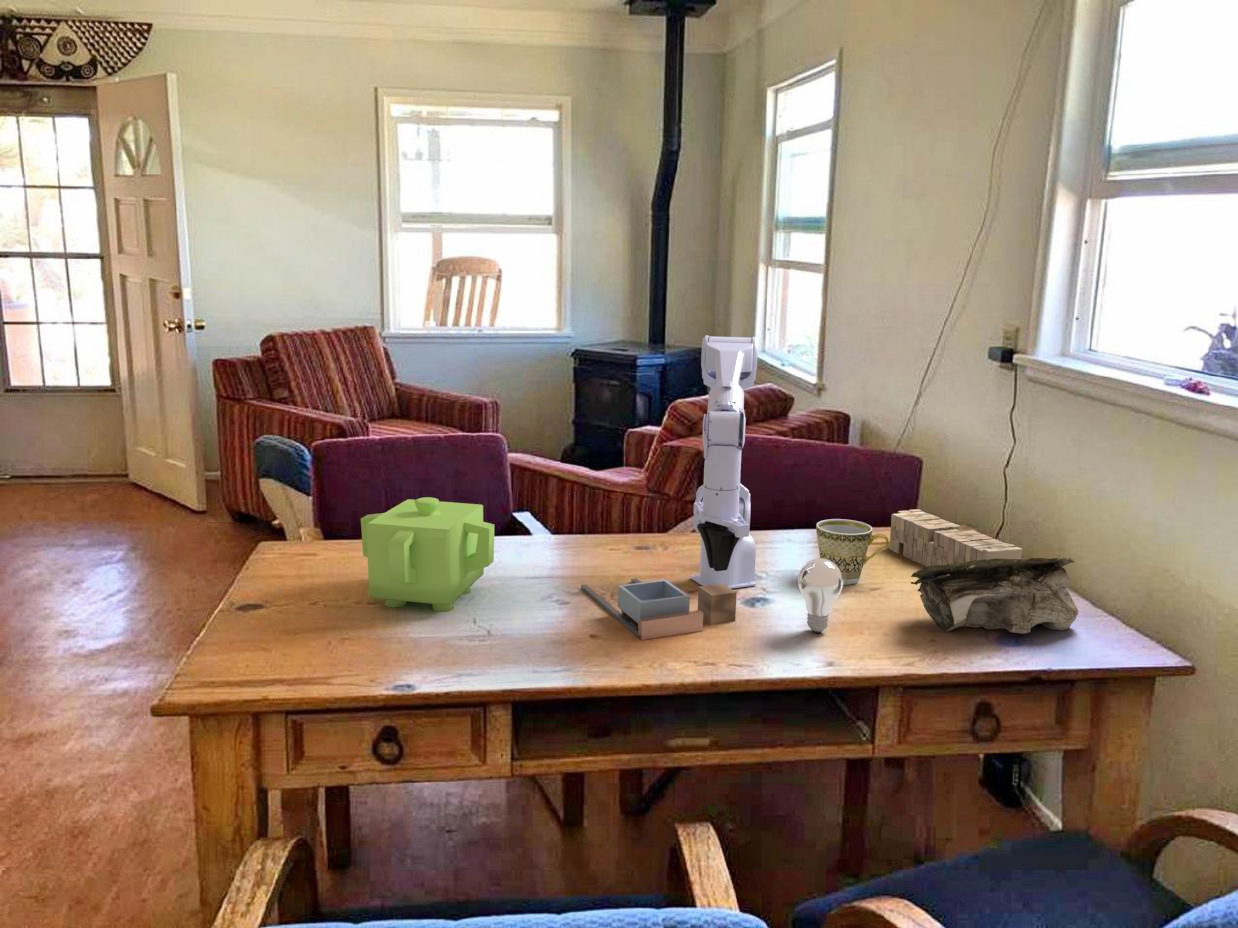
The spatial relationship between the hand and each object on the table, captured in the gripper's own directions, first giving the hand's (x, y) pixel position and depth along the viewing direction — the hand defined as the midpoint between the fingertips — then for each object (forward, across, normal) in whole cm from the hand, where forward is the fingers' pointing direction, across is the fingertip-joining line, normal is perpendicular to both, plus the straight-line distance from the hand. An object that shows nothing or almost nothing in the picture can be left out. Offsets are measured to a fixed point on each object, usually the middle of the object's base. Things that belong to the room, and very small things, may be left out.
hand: (718, 568), depth 162 cm
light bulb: (+9, +11, +12) cm, 18 cm away
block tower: (+9, -8, +55) cm, 56 cm away
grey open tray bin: (+8, -3, -10) cm, 13 cm away
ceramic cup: (+9, -8, +32) cm, 34 cm away
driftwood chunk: (+9, +18, +40) cm, 45 cm away
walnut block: (+8, 0, 0) cm, 8 cm away
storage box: (+9, -26, -41) cm, 49 cm away
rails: (+8, -8, -10) cm, 16 cm away
